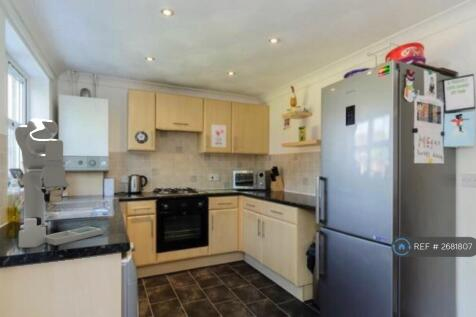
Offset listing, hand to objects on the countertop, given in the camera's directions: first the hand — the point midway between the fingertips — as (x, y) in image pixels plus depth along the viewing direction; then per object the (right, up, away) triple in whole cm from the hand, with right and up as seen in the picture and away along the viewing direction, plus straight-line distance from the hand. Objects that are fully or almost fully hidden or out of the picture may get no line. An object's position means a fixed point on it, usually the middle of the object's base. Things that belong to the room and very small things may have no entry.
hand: (53, 200), depth 138 cm
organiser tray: (+12, -17, -4) cm, 21 cm away
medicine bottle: (+2, -17, -16) cm, 24 cm away
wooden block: (0, -1, 0) cm, 1 cm away
